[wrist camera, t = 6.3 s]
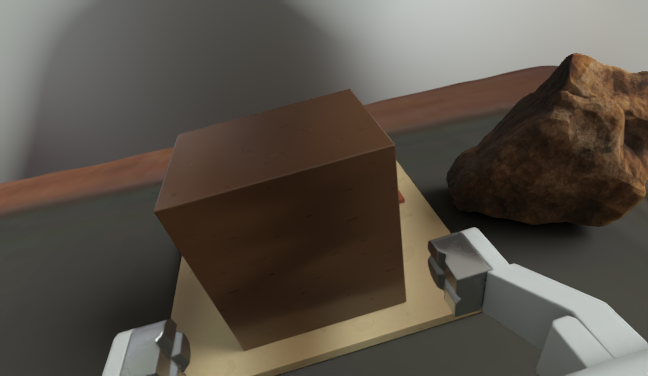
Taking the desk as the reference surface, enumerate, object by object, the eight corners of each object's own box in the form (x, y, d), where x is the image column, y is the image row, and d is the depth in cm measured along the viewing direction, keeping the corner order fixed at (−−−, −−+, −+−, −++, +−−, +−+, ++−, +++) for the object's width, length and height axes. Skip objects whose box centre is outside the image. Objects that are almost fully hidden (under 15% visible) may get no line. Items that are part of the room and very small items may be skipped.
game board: (161, 411, 19) (150, 402, 18) (196, 199, 35) (191, 190, 34) (498, 306, 20) (501, 294, 19) (382, 147, 36) (381, 137, 35)
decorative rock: (619, 189, 25) (683, 37, 19) (644, 249, 21) (737, 80, 15) (448, 177, 30) (453, 53, 24) (440, 225, 26) (444, 89, 19)
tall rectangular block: (244, 351, 20) (152, 211, 13) (242, 260, 26) (178, 131, 19) (407, 302, 20) (395, 144, 14) (369, 223, 26) (348, 86, 20)
